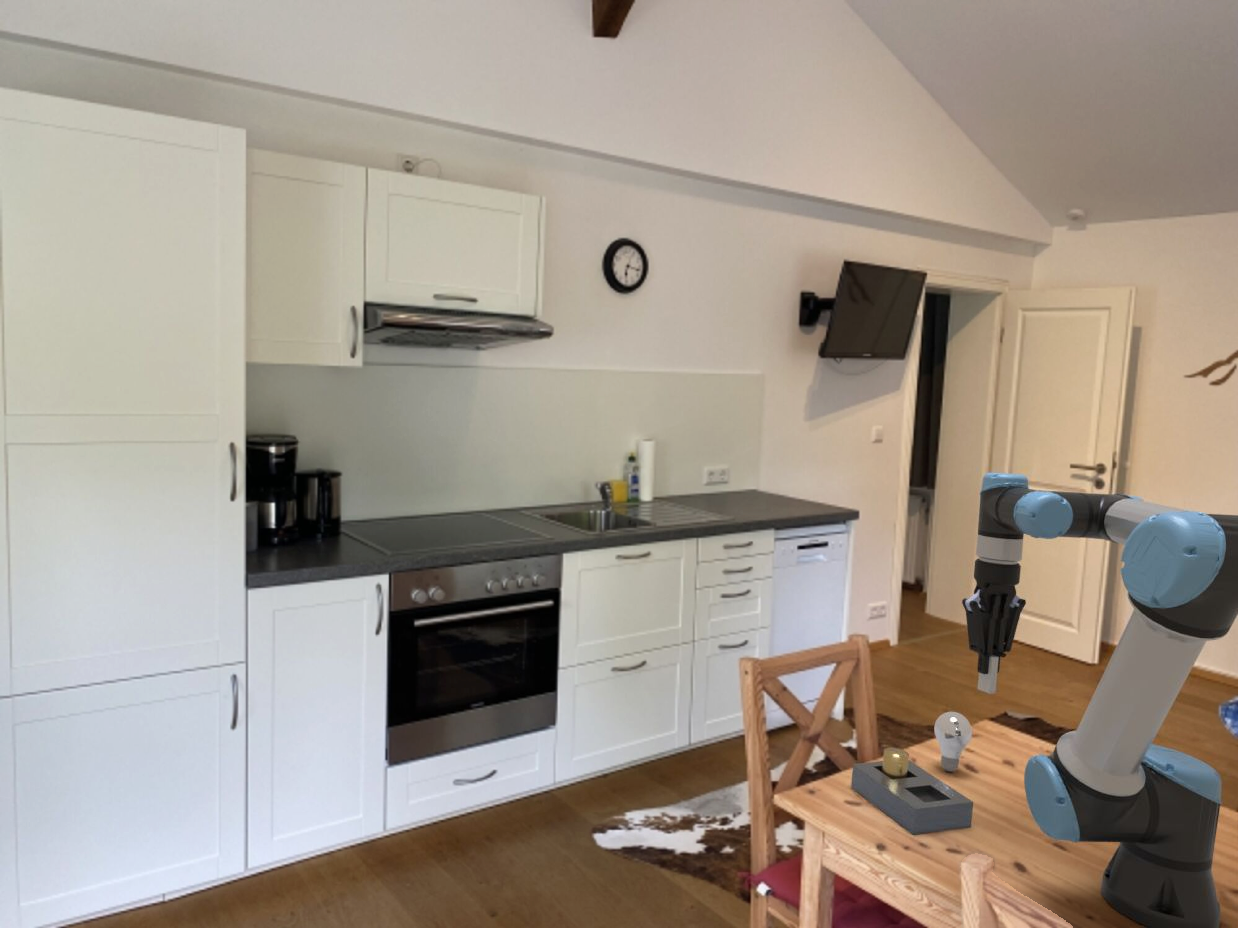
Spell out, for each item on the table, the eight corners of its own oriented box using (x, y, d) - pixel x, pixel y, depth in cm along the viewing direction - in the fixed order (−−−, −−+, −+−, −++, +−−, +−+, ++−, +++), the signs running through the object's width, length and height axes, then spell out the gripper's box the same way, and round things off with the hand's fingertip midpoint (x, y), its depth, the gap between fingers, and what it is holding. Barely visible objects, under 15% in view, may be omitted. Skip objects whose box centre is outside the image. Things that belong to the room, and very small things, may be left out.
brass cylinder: (909, 798, 165) (914, 756, 164) (889, 800, 164) (894, 758, 163) (894, 787, 169) (899, 746, 169) (874, 789, 168) (879, 748, 167)
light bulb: (962, 765, 182) (967, 708, 181) (972, 780, 175) (978, 720, 174) (926, 762, 182) (932, 704, 181) (935, 777, 175) (941, 717, 174)
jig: (970, 826, 156) (973, 801, 155) (913, 834, 152) (915, 808, 151) (904, 781, 173) (906, 758, 172) (851, 787, 168) (853, 763, 168)
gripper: (1008, 556, 166) (997, 682, 168) (954, 556, 161) (942, 686, 162) (1042, 563, 159) (1030, 695, 161) (986, 564, 154) (974, 700, 155)
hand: (986, 690), depth 161 cm, fingers closed
